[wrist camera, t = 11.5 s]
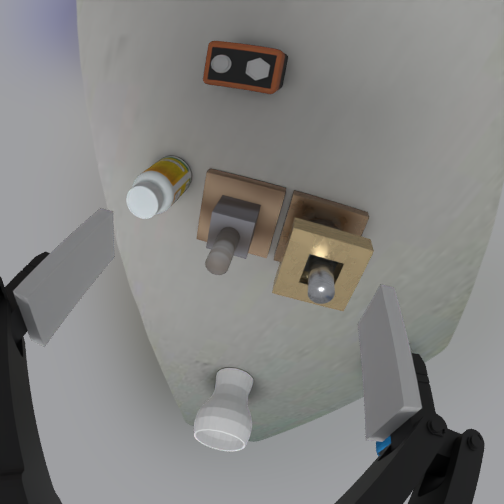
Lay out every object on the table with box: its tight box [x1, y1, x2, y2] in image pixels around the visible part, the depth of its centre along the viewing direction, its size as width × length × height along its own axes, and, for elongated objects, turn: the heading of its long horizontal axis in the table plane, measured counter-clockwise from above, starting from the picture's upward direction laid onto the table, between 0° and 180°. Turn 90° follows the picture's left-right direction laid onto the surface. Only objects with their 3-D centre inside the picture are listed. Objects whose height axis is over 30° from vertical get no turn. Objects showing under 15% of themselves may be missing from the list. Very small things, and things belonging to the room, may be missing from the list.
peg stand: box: [274, 190, 369, 304], centre depth 38 cm, size 10×10×12 cm
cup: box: [194, 368, 253, 451], centre depth 58 cm, size 11×11×15 cm
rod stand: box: [197, 169, 286, 275], centre depth 38 cm, size 10×10×12 cm
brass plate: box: [272, 217, 374, 311], centre depth 37 cm, size 9×9×2 cm
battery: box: [203, 41, 288, 94], centre depth 29 cm, size 4×7×10 cm, turn 80°
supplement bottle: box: [126, 156, 191, 219], centre depth 38 cm, size 5×5×10 cm
